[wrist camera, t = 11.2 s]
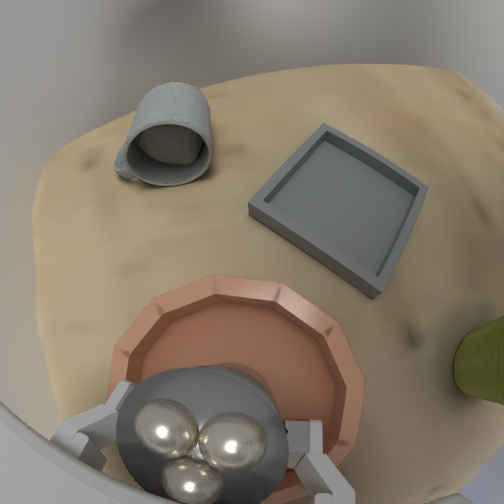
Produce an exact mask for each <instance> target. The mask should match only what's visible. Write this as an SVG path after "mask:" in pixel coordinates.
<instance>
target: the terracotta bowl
mask: <svg viewBox="0 0 504 504" xmlns="http://www.w3.org/2000/svg"><path fill="white" fill-rule="evenodd" d="M337 323H338V321H336V320H335V319H333V318H332V317H330V316H329V315H328V314H326V313H325V312H323V311H322V310H320V309H319V308H318V307H316V306H315V305H313V304H312V303H310V302H309V301H308V300H306V299H305V298H303V297H302V296H301V295H299V294H298V293H296V292H295V291H293V290H292V289H291V288H289V287H288V286H286V285H285V284H284V283H283V284H282V285H281V282H272V281H263V280H255V279H246V278H238V277H230V276H222V275H211V276H209V277H206V278H204V279H201V280H199V281H196V282H193V283H191V284H188V285H186V286H183V287H181V288H178V289H176V290H173V291H171V292H168V293H165V294H163V295H160V296H158V297H155V298H154V300H153V299H152V300H151V301H150V302H149V304H148V305H147V306H146V307H145V309H144V310H143V311H142V312H141V314H140V315H139V316H138V317H137V319H136V320H135V321H134V322H133V324H132V325H131V326H130V327H129V329H128V330H127V331H126V332H125V334H124V335H123V336H122V337H121V339H120V340H119V341H118V343H117V344H116V345H115V347H114V353H113V360H112V367H111V374H110V382H109V391H108V399H109V397H110V396H111V394H112V392H113V391H114V389H115V388H116V386H117V385H118V383H119V382H120V381H121V380H122V379H124V380H127V381H130V382H133V383H135V384H139V383H141V382H142V381H143V380H145V379H147V378H148V377H150V376H152V375H155V374H157V373H160V372H163V371H167V370H171V369H178V368H187V367H196V366H204V365H212V364H219V363H238V364H242V365H245V366H248V367H250V368H252V369H254V370H255V371H257V372H258V373H259V374H260V375H262V376H263V377H264V379H265V380H266V381H267V382H268V384H269V386H270V388H271V390H272V392H273V395H274V398H275V401H276V404H277V407H278V410H279V413H280V416H281V419H282V422H283V420H284V418H285V417H286V418H299V419H312V420H321V421H322V431H323V454H327V456H328V457H329V458H330V460H331V461H332V462H333V464H334V465H335V466H336V467H338V466H339V464H340V463H341V462H342V461H343V460H344V459H345V458H346V456H347V455H348V454H349V453H350V452H351V450H352V449H353V448H354V447H355V446H354V445H356V440H357V435H358V429H359V424H360V418H361V412H362V406H363V399H364V392H365V384H366V383H364V382H365V380H364V378H363V375H362V373H361V371H360V368H359V366H358V364H357V361H356V359H355V357H354V355H353V352H352V350H351V348H350V346H349V344H348V341H347V339H346V337H345V335H344V333H343V330H342V328H341V326H340V324H339V323H338V324H337ZM307 495H309V494H308V492H307V491H306V489H305V487H304V486H303V484H302V482H301V480H300V479H299V477H298V475H297V473H296V472H295V470H294V468H287V469H286V473H285V475H284V477H283V479H282V481H281V483H280V484H279V486H278V487H277V488H276V490H275V491H274V492H273V493H272V494H271V495H270V496H269V497H268V498H267V499H265V500H264V501H263V502H261V503H260V504H285V503H288V502H291V501H293V500H296V499H299V498H302V497H304V496H307Z"/></svg>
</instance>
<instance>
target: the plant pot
mask: <svg viewBox="0 0 504 504" xmlns="http://www.w3.org/2000/svg"><path fill="white" fill-rule="evenodd" d="M454 377H455V382H456V384H457V386H458V387H459V388H460V389H461V390H462V392H463V393H464V394H467V395H470V396H473V397H477V398H481V399H484V400H488V401H491V402H495V403H499V404H503V405H504V316H502V317H500V318H498V319H496V320H494V321H492V322H490V323H488V324H486V325H484V326H482V327H480V328H478V329H476V330H473V331H471V332H470V333H468V334H467V335H466V336H465V337H464V339H463V342H462V344H461V345H460V347H459V349H458V350H457V352H456V356H455V361H454Z"/></svg>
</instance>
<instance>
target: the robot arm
mask: <svg viewBox="0 0 504 504" xmlns="http://www.w3.org/2000/svg"><path fill="white" fill-rule="evenodd" d="M137 385H138V384H135V383H133V382H130V381H127V380H124V379H122V380H121V381H120V382H119V383H118V385H117V386H116V388H115V389H114V391H113V392H112V394H111V396H110V397H109V399H108V400H107V402H106V403H105V405H104V404H100V405H98V406H96V407H94V408H91V409H89V410H87V411H85V412H83V413H80V414H78V415H76V416H73V417H71V418H69V419H66V420H64V421H62V423H61V424H60V426H59V427H58V429H57V430H56V432H55V434H54V435H53V437H52V438H51V440H50V441H49V440H48V439H46V438H45V437H43V436H42V435H41V434H39V433H38V432H37V431H35V430H34V429H33V428H31V427H30V426H29V425H27V424H26V423H25V422H24V421H22V420H21V419H20V418H19V417H18V416H17V415H15V414H14V413H13V412H12V411H11V410H10V409H9V408H7V407H6V406H5V405H4V404H3V403H2V402H1V401H0V504H182V503H178V502H175V501H172V500H169V499H166V498H163V497H160V496H157V495H154V494H151V493H148V492H146V491H143V490H141V489H138V488H136V487H133V486H131V485H128V484H126V483H124V482H121V481H119V480H117V479H115V478H113V477H111V476H109V475H107V474H105V473H103V472H101V471H102V469H103V467H104V465H105V463H106V461H107V460H106V458H105V457H104V455H103V454H102V453H101V452H100V451H99V450H101V449H103V448H104V447H106V446H107V445H109V444H111V443H112V442H114V441H115V440H117V438H116V424H117V417H118V414H119V411H120V408H121V406H122V404H123V402H124V400H125V398H126V397H127V396H128V394H129V393H130V392H131V391H132V390H133V389H134V388H135V386H137ZM283 425H284V428H285V431H286V434H287V439H288V444H289V460H288V466H287V468H294V470H295V472H296V473H297V475H298V477H299V479H300V480H301V482H302V484H303V486H304V487H305V489H306V491H307V492H308V494H309V496H310V497H311V499H310V500H309V501H307V502H306V503H305V504H355V490H354V489H353V488H352V487H351V485H350V484H349V483H348V482H347V480H346V479H345V478H344V476H343V475H342V474H341V473H340V471H339V470H338V469H337V467H336V466H335V465H334V464H333V462H332V461H331V460H330V458H329V457H328V456H327V454H323V431H322V421H321V420H312V419H299V418H286V417H285V418H284V420H283ZM425 504H473V503H472V502H471V501H470V500H468V499H467V498H466V497H464V496H463V495H462V494H460V493H455V494H452V495H449V496H446V497H443V498H440V499H437V500H434V501H431V502H428V503H425Z"/></svg>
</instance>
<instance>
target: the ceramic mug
mask: <svg viewBox="0 0 504 504" xmlns="http://www.w3.org/2000/svg"><path fill="white" fill-rule="evenodd" d="M212 157H213V146H212V133H211V122H210V108H209V105H208V102H207V100H206V98H205V96H204V94H203V93H202V92H201V91H200V90H199V89H198V88H196V87H195V86H193V85H191V84H189V83H185V82H179V81H177V82H176V81H175V82H166V83H163V84H160V85H158V86H156V87H154V88H153V89H152V90H150V91H149V92H148V93H147V94H146V96H145V97H144V98H143V100H142V102H141V103H140V104H139V107H138V109H137V111H136V115H135V118H134V120H133V123H132V125H131V128H130V131H129V133H128V136H127V139H126V141H125V142H124V144H123V145H122V147H121V148H120V150H119V152H118V154H117V156H116V159H115V162H114V170H115V172H116V173H118V174H119V175H121V176H122V177H123V178H125V179H132V178H135V177H137V178H138V179H140V180H142V181H144V182H147V183H149V184H153V185H158V186H175V185H181V184H185V183H188V182H191V181H193V180H195V179H197V178H198V177H200V176H201V175H202V174H203V173H204V172H205V171H206V170H207V169H208V167H209V166H210V163H211V161H212Z"/></svg>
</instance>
